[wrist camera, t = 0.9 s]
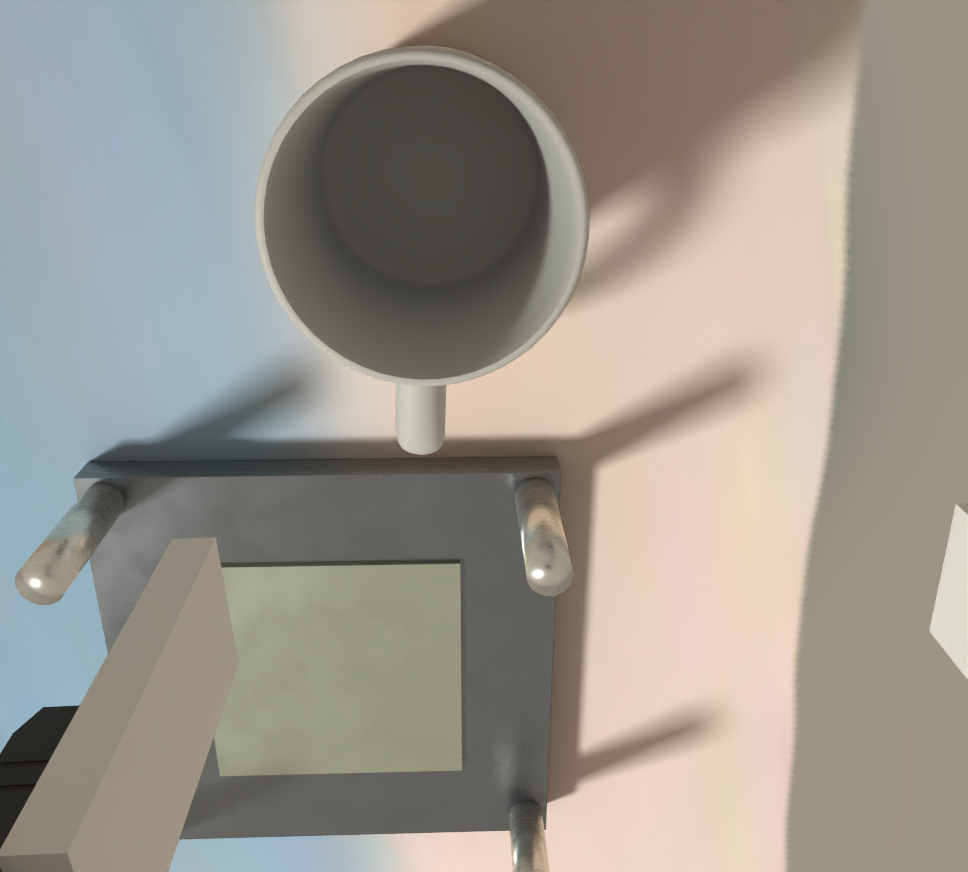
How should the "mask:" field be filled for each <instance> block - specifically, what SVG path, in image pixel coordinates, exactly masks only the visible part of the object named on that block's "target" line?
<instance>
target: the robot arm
mask: <svg viewBox="0 0 968 872" xmlns="http://www.w3.org/2000/svg"><path fill="white" fill-rule="evenodd" d="M930 632H931V634H932V635H933V636H934V637H935V639H936V640H937V641H938V642H939V644H940V645H941V646H942V648H943V649H944V650H945V651H946V653H947V654H948V655H949V656H950V658H951V659H952V660H953V661H954V663H955V664H956V665H957V666H958V668H959V669H960V670H961V671H962V673H963V674H964V675H965V676H966V678H967V679H968V504H956V507H955V512H954V516H953V521H952V526H951V531H950V535H949V540H948V545H947V550H946V554H945V559H944V564H943V569H942V574H941V579H940V583H939V588H938V593H937V598H936V602H935V607H934V612H933V616H932V621H931V626H930ZM238 664H239V662H238V657H237V651H236V646H235V640H234V635H233V629H232V624H231V618H230V613H229V607H228V602H227V596H226V591H225V585H224V580H223V574H222V569H221V563H220V558H219V552H218V547H217V541H216V537H207V538H185V539H172V540H171V542H170V543H169V545H168V547H167V549H166V551H165V553H164V554H163V556H162V558H161V560H160V562H159V563H158V565H157V567H156V569H155V571H154V572H153V574H152V576H151V578H150V580H149V581H148V583H147V585H146V587H145V589H144V590H143V592H142V594H141V596H140V598H139V600H138V601H137V603H136V605H135V607H134V609H133V610H132V612H131V614H130V616H129V618H128V619H127V621H126V623H125V625H124V627H123V628H122V630H121V632H120V634H119V636H118V637H117V639H116V641H115V643H114V645H113V646H112V648H111V650H110V652H109V654H108V656H107V657H106V659H105V661H104V663H103V665H102V666H101V668H100V670H99V672H98V674H97V675H96V677H95V679H94V681H93V683H92V684H91V686H90V688H89V690H88V692H87V693H86V695H85V697H84V699H83V701H82V703H81V704H80V706H61V707H43V708H42V709H41V710H40V711H39V712H37V713H36V714H35V715H34V716H33V717H32V718H30V719H29V720H28V721H27V722H26V723H25V724H23V725H22V726H21V727H20V728H19V729H18V730H17V731H15V732H14V733H13V734H12V736H11V738H10V739H9V741H8V742H7V744H6V746H5V747H4V749H3V750H2V752H1V754H0V872H168V871H169V868H170V865H171V862H172V859H173V856H174V853H175V850H176V847H177V844H178V841H179V838H180V835H181V832H182V829H183V826H184V823H185V820H186V817H187V814H188V812H189V809H190V806H191V803H192V800H193V797H194V794H195V791H196V788H197V785H198V782H199V779H200V776H201V773H202V770H203V767H204V764H205V761H206V758H207V755H208V753H209V750H210V747H211V744H212V741H213V738H214V735H215V732H216V729H217V726H218V723H219V720H220V717H221V714H222V711H223V708H224V705H225V702H226V699H227V696H228V694H229V691H230V688H231V685H232V682H233V679H234V676H235V673H236V670H237V667H238Z"/></svg>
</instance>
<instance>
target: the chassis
mask: <svg viewBox="0 0 968 872" xmlns="http://www.w3.org/2000/svg"><path fill="white" fill-rule="evenodd" d="M560 474H561V472H560V468H559V465H558V461H557V457H491V458H407V459H323V460H238V461H154V462H88V463H87V464H86V465H85V466H84V467H83V468H82V470H81V471H80V472H79V473H78V474H77V475H76V476H75V478H74V483H75V488H76V493H77V498H78V500H77V501H76V502H75V503H74V505H73V506H72V507H71V508H70V510H69V511H68V512H67V513H66V514H65V516H64V517H63V518H62V519H61V520H60V522H59V523H58V524H57V525H56V527H55V528H54V529H53V530H52V531H51V533H50V534H49V535H48V536H47V537H46V539H45V540H44V541H43V542H42V544H41V545H40V546H39V547H38V548H37V550H36V551H35V552H34V553H33V554H32V556H31V557H30V558H29V559H28V560H27V562H26V563H25V564H24V565H23V567H22V568H21V569H20V570H19V571H18V573H17V575H16V578H15V584H16V588H17V590H18V591H19V593H20V594H21V595H22V596H23V597H24V598H25V599H27V600H28V601H30V602H32V603H35V604H39V605H49V604H53V603H55V602H57V601H59V600H60V599H61V598H62V596H63V595H64V594H65V592H66V591H67V589H68V588H69V587H70V585H71V584H72V582H73V581H74V579H75V578H76V577H77V575H78V574H79V572H80V571H81V570H82V568H83V567H84V565H85V564H86V562H87V561H88V560H89V559H90V564H91V569H92V574H93V579H94V584H95V589H96V595H97V600H98V605H99V610H100V615H101V620H102V625H103V630H104V635H105V640H106V645H107V650H108V654H109V652H110V650H111V648H112V646H113V645H114V643H115V641H116V639H117V637H118V636H119V634H120V632H121V630H122V628H123V627H124V625H125V623H126V621H127V619H128V618H129V616H130V614H131V612H132V610H133V609H134V607H135V605H136V603H137V601H138V600H139V598H140V596H141V594H142V592H143V590H144V589H145V587H146V585H147V583H148V581H149V580H150V578H151V576H152V574H153V572H154V571H155V569H156V567H157V565H158V563H159V562H160V560H161V558H162V556H163V554H164V553H165V551H166V549H167V547H168V545H169V543H170V542H171V540H172V539H185V538H207V537H216V541H217V547H218V552H219V558H220V563H221V569H222V574H223V580H224V585H225V591H226V596H227V602H228V607H229V613H230V618H231V624H232V629H233V635H234V640H235V646H236V651H237V657H238V662H239V664H238V667H237V670H236V673H235V676H234V679H233V682H232V685H231V688H230V691H229V694H228V696H227V699H226V702H225V705H224V708H223V711H222V714H221V717H220V720H219V723H218V726H217V729H216V732H215V735H214V738H213V741H212V744H211V747H210V750H209V753H208V755H207V758H206V761H205V764H204V767H203V770H202V773H201V776H200V779H199V782H198V785H197V788H196V791H195V794H194V797H193V800H192V803H191V806H190V809H189V812H188V814H187V817H186V820H185V823H184V826H183V829H182V832H181V835H180V838H179V839H210V838H247V837H285V836H322V835H360V834H397V833H435V832H473V831H510V840H511V852H512V865H513V872H549V865H548V856H547V848H546V840H545V832H544V830H546V810H547V786H548V762H549V738H550V714H551V690H552V666H553V642H554V618H555V595H559V594H561V593H563V592H564V591H566V590H567V589H568V588H569V587H570V586H571V584H572V582H573V579H574V571H573V567H572V562H571V558H570V554H569V550H568V546H567V542H566V537H565V533H564V529H563V525H562V521H561V517H560V513H559V498H560Z"/></svg>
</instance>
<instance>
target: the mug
mask: <svg viewBox="0 0 968 872" xmlns="http://www.w3.org/2000/svg"><path fill="white" fill-rule="evenodd" d="M589 220H590V213H589V202H588V192H587V187H586V183H585V179H584V174H583V170H582V167H581V165H580V162H579V159H578V157H577V154H576V151H575V149H574V147H573V145H572V143H571V141H570V139H569V137H568V135H567V133H566V131H565V129H564V128H563V126H562V125H561V124H560V122H559V121H558V119H557V118H556V116H555V115H554V114H553V112H552V111H551V109H550V108H549V107H548V106H547V105H546V104H545V103H544V102H543V101H542V100H541V99H540V98H539V96H538V95H537V94H536V93H535V92H534V91H533V90H531V89H530V88H529V87H528V86H526V85H525V84H524V83H523V82H521V81H520V80H519V79H518V78H517V77H515V76H514V75H512V74H510V73H509V72H507V71H505V70H504V69H502V68H500V67H499V66H497V65H495V64H493V63H491V62H489V61H486V60H484V59H482V58H480V57H477V56H475V55H473V54H471V53H468V52H465V51H462V50H458V49H454V48H450V47H442V46H434V45H433V46H406V47H399V48H393V49H386V50H381V51H378V52H375V53H372V54H368V55H365V56H362V57H359V58H357V59H355V60H353V61H351V62H349V63H347V64H345V65H342V66H340V67H339V68H337V69H336V70H334V71H333V72H331V73H330V74H328V75H327V76H325V77H324V78H322V79H321V80H319V81H318V82H317V83H316V84H315V85H313V86H312V87H311V88H310V89H309V90H308V91H307V92H306V93H304V94H303V95H302V96H301V97H300V99H299V100H298V101H297V102H296V103H295V105H294V106H293V107H292V108H291V109H290V111H289V112H288V113H287V114H286V116H285V118H284V119H283V121H282V122H281V124H280V126H279V127H278V129H277V130H276V132H275V134H274V136H273V138H272V140H271V143H270V145H269V147H268V149H267V152H266V154H265V157H264V160H263V163H262V167H261V170H260V174H259V177H258V184H257V191H256V197H255V227H256V236H257V244H258V248H259V252H260V257H261V261H262V265H263V267H264V270H265V273H266V275H267V278H268V280H269V283H270V286H271V287H272V289H273V291H274V293H275V295H276V297H277V299H278V300H279V302H280V304H281V306H282V307H283V308H284V310H285V311H286V313H287V314H288V316H289V317H290V318H291V320H292V321H293V323H294V324H295V325H296V326H297V327H298V328H299V329H300V330H301V331H302V332H303V333H304V335H305V336H306V337H307V338H308V339H309V340H310V341H312V342H313V343H314V344H315V345H316V346H318V347H319V348H320V349H321V350H322V351H323V352H325V353H326V354H328V355H329V356H331V357H332V358H334V359H335V360H337V361H338V362H340V363H341V364H343V365H345V366H347V367H349V368H351V369H353V370H355V371H357V372H359V373H362V374H365V375H367V376H370V377H373V378H376V379H379V380H383V381H387V382H392V383H396V425H397V438H398V443H399V444H400V446H401V447H402V449H403V450H405V451H407V452H410V453H412V454H419V455H424V454H431V453H433V452H436V451H438V450H439V449H440V448H441V446H442V445H443V442H444V438H445V407H446V385H448V384H454V383H461V382H464V381H468V380H471V379H475V378H478V377H481V376H483V375H486V374H488V373H491V372H493V371H495V370H498V369H500V368H501V367H503V366H505V365H506V364H508V363H510V362H512V361H513V360H515V359H517V358H518V357H519V356H521V355H522V354H523V353H525V352H526V351H527V350H529V349H530V348H531V347H533V346H534V345H535V344H536V343H537V342H538V341H539V340H540V339H541V338H542V337H543V336H544V335H545V334H546V333H547V332H548V331H549V329H550V328H551V327H552V325H553V324H554V323H555V322H556V320H557V319H558V318H559V317H560V315H561V314H562V312H563V310H564V309H565V307H566V305H567V304H568V302H569V300H570V299H571V297H572V294H573V292H574V290H575V288H576V285H577V283H578V281H579V278H580V275H581V272H582V268H583V265H584V262H585V258H586V252H587V246H588V240H589Z"/></svg>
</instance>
